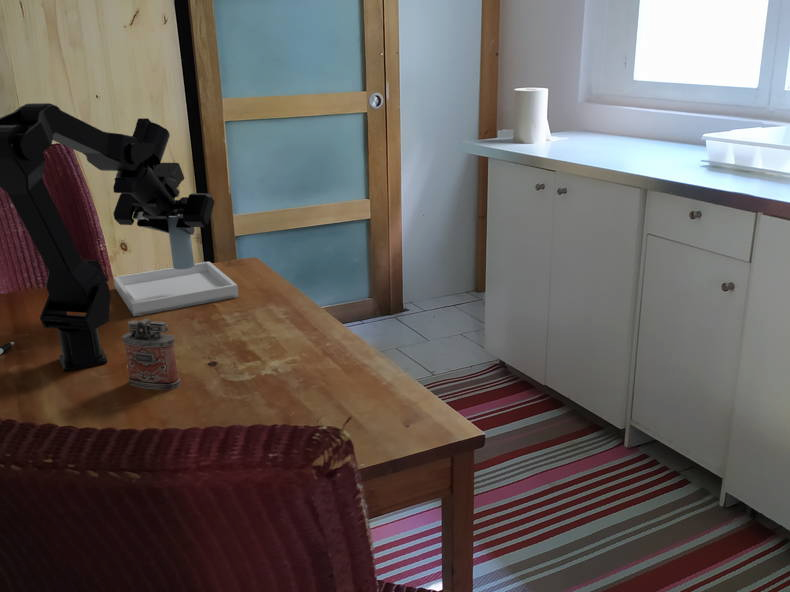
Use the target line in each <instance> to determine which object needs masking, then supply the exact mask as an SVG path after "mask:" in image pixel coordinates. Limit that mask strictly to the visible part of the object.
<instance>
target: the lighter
mask: <svg viewBox="0 0 790 592" xmlns="http://www.w3.org/2000/svg"><path fill="white" fill-rule="evenodd" d="M127 323H128V325H127V326H128V329H129V331H130V332H127V333H126V334H124V335H122V337H121V338H122V339H121V340H122V342H123V343H124V347H125V354H126V360H127V366H128V367H127V369H128V374H129V377H128V382H129V385H130V386H133V387H136V388H140V389H148V390H157V391H159V390H163V391H164V390H165V391H166V390H167V391H172V390H174V389H178V388H179V387H180V386H181V381H180V377H179V374H178V367H177V366H178V365H177V359H176V353H175V336H174V335H170V334H166V332H168V331H169V327H168V323H166V322H165V321H155V320H153V321H151V319H150V318H146V317H145V318H143V319H142V320H130V321H128V322H127Z"/></svg>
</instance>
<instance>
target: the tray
mask: <svg viewBox="0 0 790 592" xmlns="http://www.w3.org/2000/svg"><path fill="white" fill-rule="evenodd" d="M113 282H114V288H115V290H116V292H117V294H118V295H119V296H120V297H121V299H122V300H123V302H124V303H125V306H126V307H127V309H128V310H129V311H130V313H131V314H132V316H133V318H134V317H139V316H145V315H151V314H155V313H156V314H157V313H162V312H167V311H171V310H177V309H183V308H188V307H192V306H200V305H204V304H209V303H215V302H220V301H225V300H229V299H236V298H239V297H240V296H239V286H238V284H237V283H235V282H234V280H232V279H231V278H230V277H228V276H227V275H226V274H225V272H222V270H220V268H218V267H217V266H215V265H214V264H213V263H212V262H211V261H203V262H198V263H194V267H192V268H188V269H174V268H173V267H167V268H161V269H155V270H148V271H143V272H137V273H132V274H131V273H129V274H124V275H118V276H114V277H113Z"/></svg>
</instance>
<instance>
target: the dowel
mask: <svg viewBox="0 0 790 592" xmlns="http://www.w3.org/2000/svg"><path fill="white" fill-rule="evenodd" d="M178 217H179V216H177V217H169V218H168V219H167V222H168V230H169V233H168V236H169V244H170V251H171V252H170V253H171V260H172V261H171V262H172V266H173V268H174V269H188V268H192V267H194V264H195V260H194V252H193V246H192V244H193V243H192V235H191V234H188V233H186V232H184V231H182V230H180V229H178V228H176V225H177V222H178V219H179V218H178Z"/></svg>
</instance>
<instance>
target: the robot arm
mask: <svg viewBox="0 0 790 592" xmlns="http://www.w3.org/2000/svg"><path fill="white" fill-rule="evenodd" d="M169 140H170V132H169V130H168V129H167V128H165V127H163V126H162V125H160V124H158V123H156V122H152V121H151V120H150V119H149V118H144V117H143V118H138V119H137V120H136V123H135V128H134V131H133V134H132V136H131V135H127V134H123V133H116V132H115V133H114V132H107V131H103V130H101V129H99V128H97V127H95V126H93V125H91V124H89V123H87V122H86V121H84V120H82V119H79V118H78V117H75V116H73V115H71V114H69V113H67V112H65V111H63V110H62V109H61V108H60V107H58V105H54V104H53V103H50V102H49V103H46V102H44V103H43V102H42V103H40V102H39V103H38V102H36V103H24V105H21V106H19V107H18V108H17V109H16V110H14V111H13V112H11V113H8V114H6V115H4V116H1V117H0V188H1V189H2V190H4V191H5V192H6V193H7V194H8V197H9V199H10V201H11V202H12V205H13V206H14V208H15V210H16V212H17V213H18V216H19V217H20V219H21V221H22V223H23V225H24V227H25V228H26V231H27V232H28V234H29V236H30V238H31V239H32V241H33V244H34V245H35V248H36V250H37V251H38V253H39V255H40V257H41V258H42V260H43V262H44V264H45V266H46V268H47V270H48V274H47V278H46V284H45V289H46V291H47V293H48V297H47V299H46V302H45V304H44V306H43V309H42V312H41V314H40V316H39V319H40V322H41V324H42V325H43V327H44V328H45V329H57V332H58V338H59V342H60V343H59V344H60V348H61V353H62V354H60V355H58V357H59V361H60V365H61V366H62V369H63V371H64V372H69V371H74V370H78V369H83V368H87V367H88V368H89V367H93V366H98V365H101V364H103V365H104V364H107V363H108V358H107V356H106V353H105V352H104V350H103V348H102V347H101V341H100V335H99V331H98V330H99V329H98V328H100V327H101V326H103V325H105V324H106V323H108V322H109V321H110V310H111V309H110V307H111V305H110V304H111V290H110V287H109V286H110V285H109V284H108V283H107V282H109V278H108V277H107V276H106V275H105V273H104V271H103V267H102V264H101V263H100V262H99V261H98V260H96V259H95V260H93V259H83V258H82V256H81V255H80V253H79V251H78V249H77V247H76V245H75V243H74V241H73V238H72V236H71V235H70V233H69V231H68V229H67V227H66V225H65V222H64V220H63V218H62V216H61V215H60V213H59V211H58V209H57V206H56V205H55V202H54V200H53V198H52V196H51V194H50V192H49V190H48V188H47V186H46V184H45V181H44V179H43V175H44V169H45V165H46V158H45V155H44V152H46V150H48V148H50V147H51V146H52V144H53V141H54V142H56V143H58V144H61V145H63V146H65V147H68V148H70V149H72V150H75V151H76V152H79V153H81V154H83V155H84V156H85V157H86V161H87V163H89V164H90V165H92V166H93V167H95V168H96V169H98V170H99V171H106V172H109V171H110V172H113V171H114V172H116V174H115V178H114V184H113V193H114V194H119V196H118V199H117V201H116V205H115V207H114V210H113V213H112V214H113V218H114V220H115V221H116V222H117V224H118V225H121V226H132V225H133V224H134V223H135V220H136V221H137V222H136V225H137V227H138V228H139V227H140V228H146V229H150V230H154V231H159V232H162V233H166V234H169V230H168V222H167V219H168V218H169V217H177V216H179V217H178V218H179V219H178V222H177V225H176V228H178V229H180V230H182V231H184V232H186V233H188V234H191V236H193V235H194V234H195V231H196V230H195V228H205V227H207V226H208V225H209V223H210V220H211V216H212V213H213V209H214V206H215V202H216V201H215V200H214V199H213V197H212V196H211V194H210V193H204V192H202V193H199V192H198V193H195V192H194V193H190V194H188V196H185V197H180V198H179V199H176V198H178V197H179V194H180V190H179V189H178V187H179V186H180V185H181V183H182V182H183V181H184V180H185V176H184V173H183V170H182V168H181V165H180V163H179V162H162V161H163V157H164V154H165V151H166V148H167V144H168V142H169ZM68 312H69V313H80V315H79V314H68ZM82 313H84V314H85V315H81V314H82Z"/></svg>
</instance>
